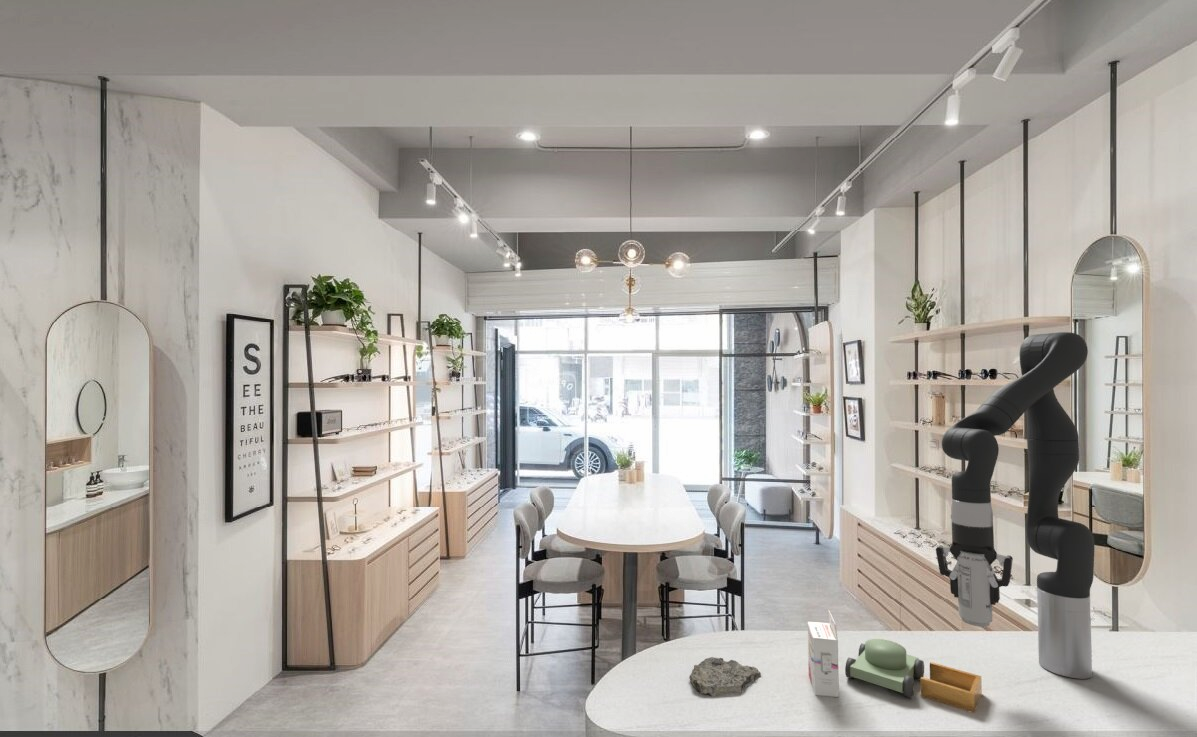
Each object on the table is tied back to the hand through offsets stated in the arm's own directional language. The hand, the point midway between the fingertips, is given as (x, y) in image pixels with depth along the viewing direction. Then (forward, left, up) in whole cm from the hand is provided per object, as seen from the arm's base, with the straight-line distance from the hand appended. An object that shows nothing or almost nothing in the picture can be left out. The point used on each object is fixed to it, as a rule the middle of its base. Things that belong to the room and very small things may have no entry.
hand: (974, 599), depth 121 cm
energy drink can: (0, 0, -5) cm, 5 cm away
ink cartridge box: (+23, -24, -18) cm, 38 cm away
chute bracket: (+9, -3, -17) cm, 20 cm away
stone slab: (+35, -41, -18) cm, 57 cm away
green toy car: (+11, -15, -17) cm, 26 cm away
